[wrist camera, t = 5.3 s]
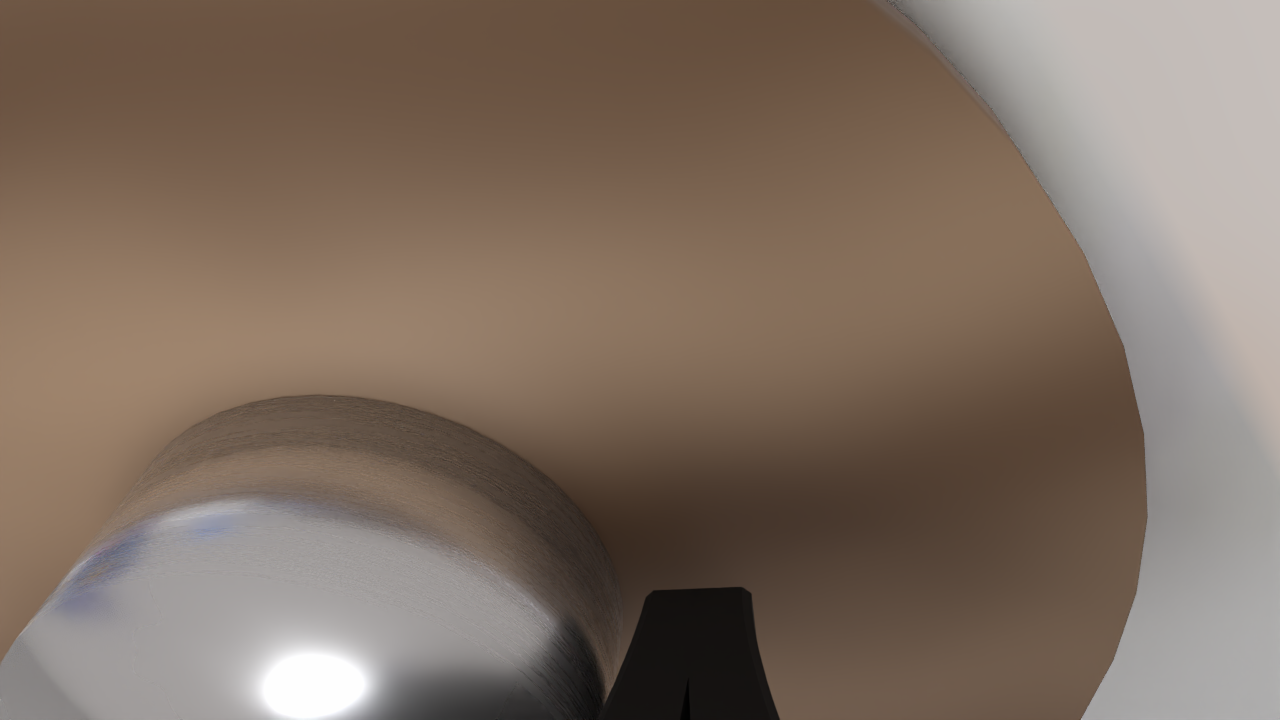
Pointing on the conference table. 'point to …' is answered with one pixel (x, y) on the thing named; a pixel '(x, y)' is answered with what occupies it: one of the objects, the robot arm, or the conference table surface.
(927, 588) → the platter
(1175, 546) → the conference table surface
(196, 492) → the aluminium cap
